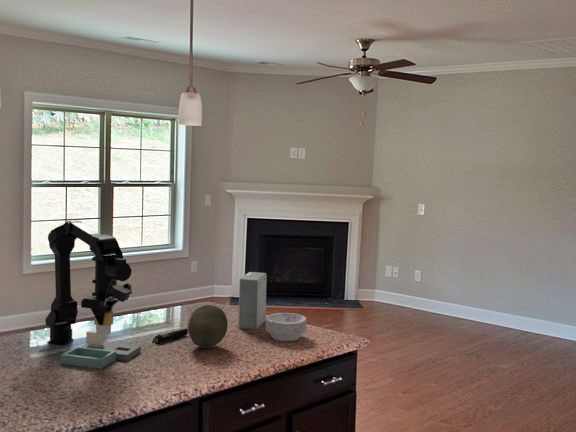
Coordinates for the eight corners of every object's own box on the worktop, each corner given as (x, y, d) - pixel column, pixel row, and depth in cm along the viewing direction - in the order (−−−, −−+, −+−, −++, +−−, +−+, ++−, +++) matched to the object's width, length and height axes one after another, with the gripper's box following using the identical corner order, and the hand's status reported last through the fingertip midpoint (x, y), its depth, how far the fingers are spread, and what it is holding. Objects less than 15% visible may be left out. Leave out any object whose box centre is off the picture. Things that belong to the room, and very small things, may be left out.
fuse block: (76, 354, 204) (76, 348, 204) (92, 346, 214) (92, 340, 214) (126, 360, 200) (126, 354, 200) (140, 351, 210) (140, 346, 210)
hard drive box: (247, 318, 259) (249, 271, 257) (265, 320, 258) (267, 272, 256) (237, 328, 244) (239, 278, 242) (256, 330, 243) (258, 279, 241)
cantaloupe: (178, 347, 217) (179, 305, 215) (209, 339, 227) (211, 299, 226) (204, 357, 207) (205, 313, 206) (235, 349, 218) (237, 307, 216)
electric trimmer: (190, 337, 231) (190, 329, 231) (158, 345, 219) (158, 337, 218) (183, 335, 233) (183, 327, 233) (151, 343, 221) (151, 334, 221)
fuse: (86, 352, 207) (86, 331, 207) (90, 349, 210) (91, 329, 210) (99, 353, 206) (100, 333, 206) (104, 351, 209) (104, 330, 209)
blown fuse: (94, 333, 200) (94, 311, 199) (98, 331, 202) (99, 309, 202) (108, 335, 199) (108, 313, 198) (112, 332, 202) (113, 310, 201)
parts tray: (61, 364, 195) (61, 354, 195) (76, 355, 204) (77, 346, 203) (101, 369, 192) (102, 359, 192) (116, 360, 201) (116, 351, 200)
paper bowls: (258, 340, 230) (259, 319, 229) (274, 330, 244) (275, 310, 243) (297, 346, 224) (297, 324, 223) (311, 336, 238) (312, 315, 237)
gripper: (114, 283, 188) (113, 334, 190) (140, 273, 206) (139, 319, 208) (80, 280, 190) (79, 330, 192) (109, 270, 208) (108, 316, 210)
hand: (103, 324), depth 200 cm, fingers closed on blown fuse, 3 cm apart
